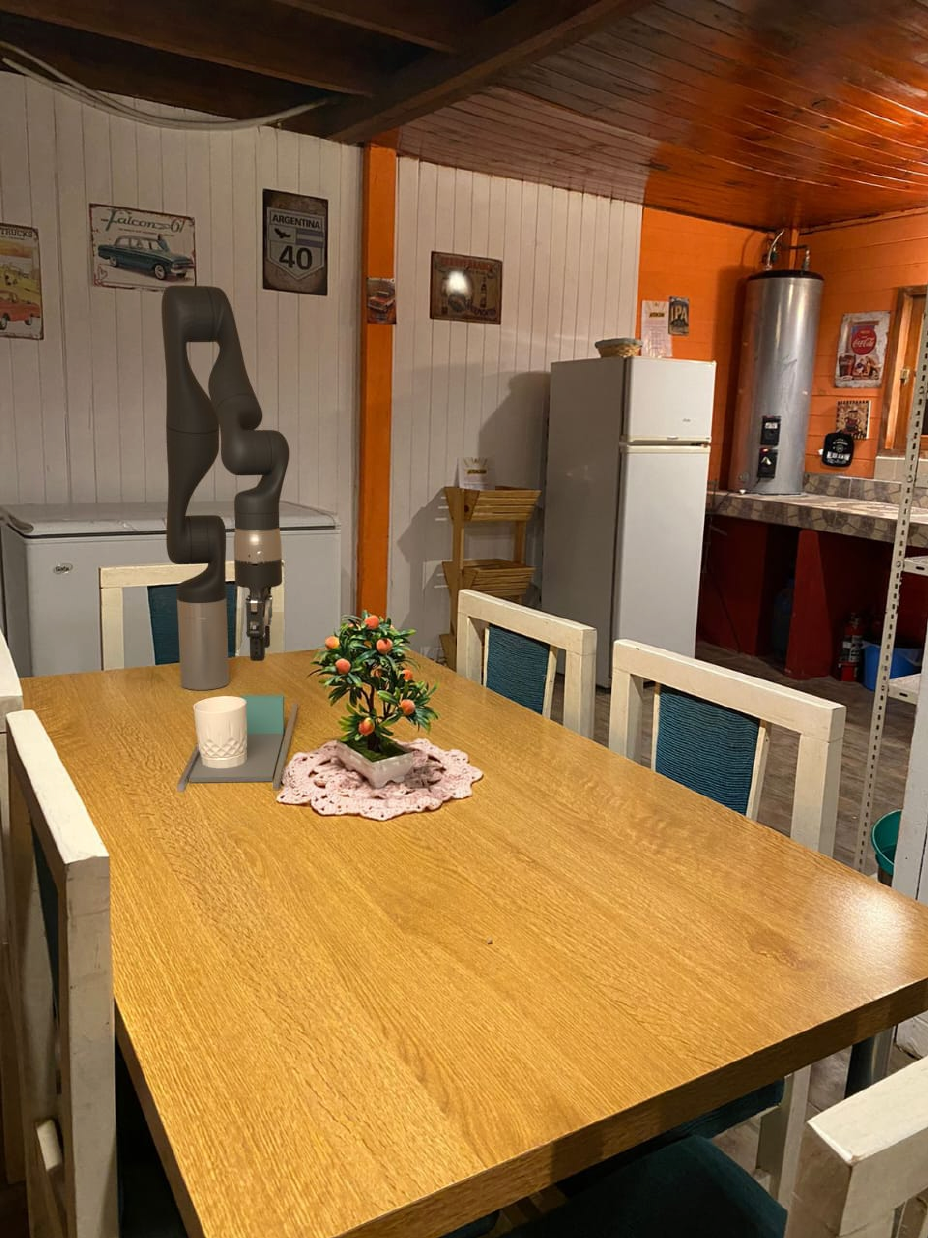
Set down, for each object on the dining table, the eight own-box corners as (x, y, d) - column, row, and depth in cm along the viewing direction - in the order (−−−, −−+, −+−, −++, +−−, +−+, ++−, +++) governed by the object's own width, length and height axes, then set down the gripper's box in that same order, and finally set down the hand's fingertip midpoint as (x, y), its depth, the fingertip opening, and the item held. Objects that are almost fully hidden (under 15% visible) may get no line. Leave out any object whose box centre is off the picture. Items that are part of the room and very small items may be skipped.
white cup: (209, 779, 146) (204, 715, 143) (191, 763, 152) (185, 702, 150) (258, 767, 150) (254, 705, 148) (239, 752, 156) (234, 693, 154)
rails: (217, 709, 178) (217, 702, 177) (297, 708, 179) (297, 702, 179) (177, 791, 141) (177, 784, 141) (278, 790, 142) (278, 782, 142)
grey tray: (213, 732, 165) (211, 693, 164) (285, 731, 166) (284, 693, 165) (189, 782, 144) (188, 738, 142) (272, 781, 145) (271, 738, 144)
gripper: (240, 549, 164) (242, 643, 167) (227, 563, 150) (231, 665, 153) (285, 549, 165) (287, 643, 168) (277, 563, 151) (279, 665, 154)
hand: (260, 653), depth 161 cm, fingers open, 8 cm apart
